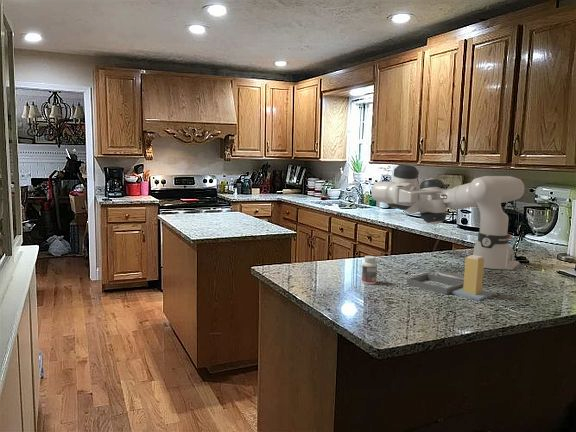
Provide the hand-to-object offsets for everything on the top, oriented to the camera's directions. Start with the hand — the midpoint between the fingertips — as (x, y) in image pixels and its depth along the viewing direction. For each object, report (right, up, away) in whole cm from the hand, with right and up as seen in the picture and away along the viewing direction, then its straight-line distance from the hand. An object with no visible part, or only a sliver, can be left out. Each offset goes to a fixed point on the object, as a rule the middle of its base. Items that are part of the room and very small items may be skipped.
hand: (439, 197), depth 174 cm
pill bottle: (-26, -32, +2) cm, 41 cm away
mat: (+8, -34, -10) cm, 36 cm away
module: (+8, -33, -10) cm, 35 cm away
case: (+3, -32, +4) cm, 32 cm away
